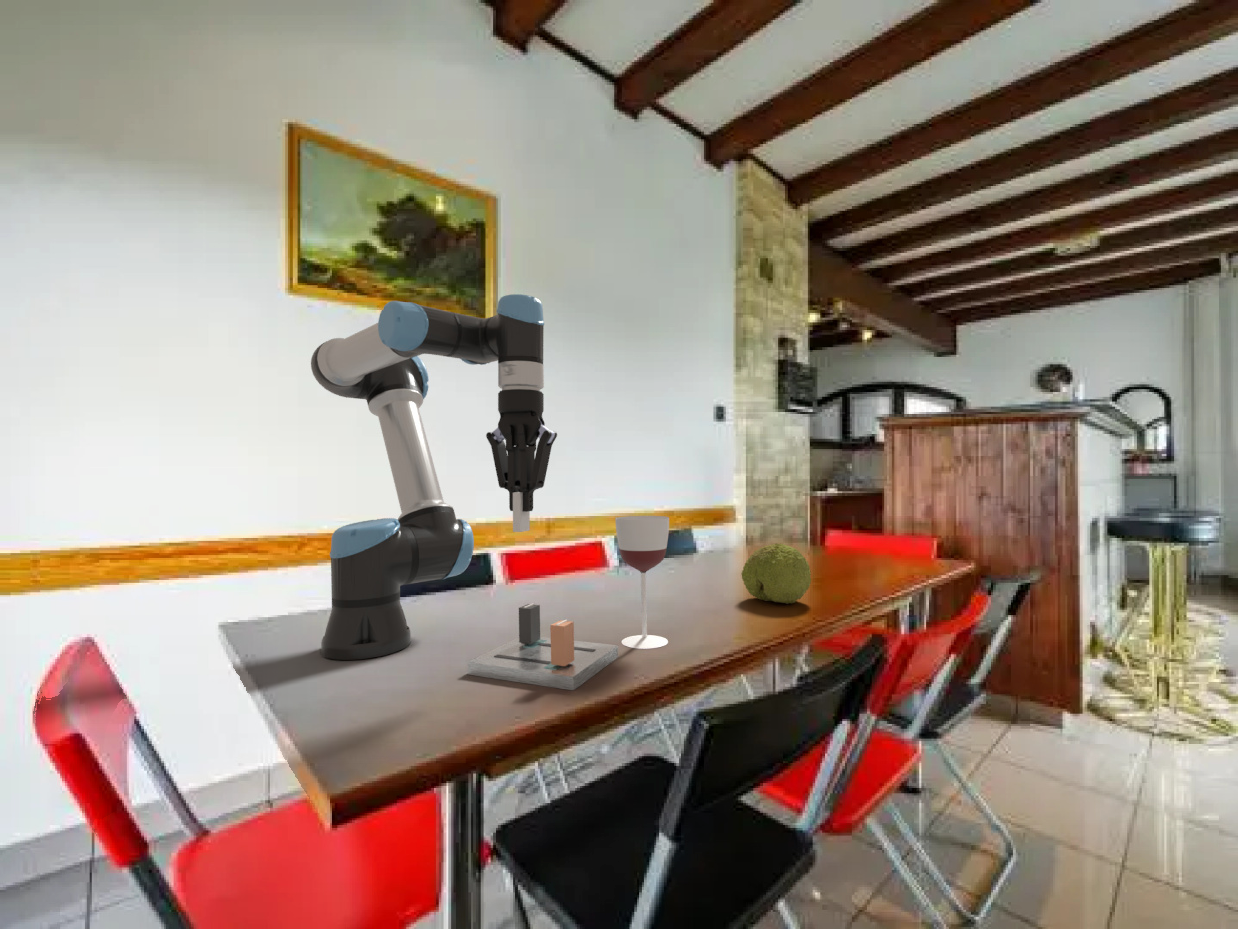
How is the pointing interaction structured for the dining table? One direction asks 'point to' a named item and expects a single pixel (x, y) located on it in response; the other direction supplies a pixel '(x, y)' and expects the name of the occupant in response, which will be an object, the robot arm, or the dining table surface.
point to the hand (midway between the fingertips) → (521, 530)
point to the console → (543, 663)
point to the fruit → (777, 574)
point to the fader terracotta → (562, 642)
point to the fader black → (529, 623)
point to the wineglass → (643, 561)
